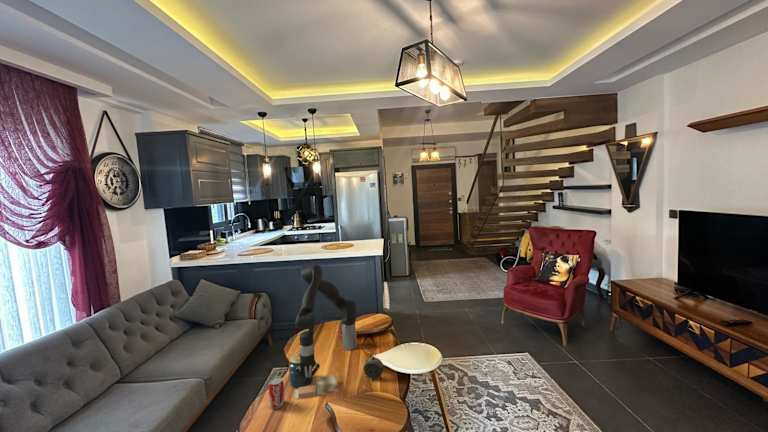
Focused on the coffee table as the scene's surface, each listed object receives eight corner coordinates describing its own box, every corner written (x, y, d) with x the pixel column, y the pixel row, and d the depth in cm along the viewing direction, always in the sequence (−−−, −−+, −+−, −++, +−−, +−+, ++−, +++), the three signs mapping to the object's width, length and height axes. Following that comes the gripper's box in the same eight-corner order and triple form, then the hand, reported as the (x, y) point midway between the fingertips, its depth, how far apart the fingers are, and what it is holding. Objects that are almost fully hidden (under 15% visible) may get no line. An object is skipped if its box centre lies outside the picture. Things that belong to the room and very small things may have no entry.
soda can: (271, 401, 164) (270, 377, 163) (285, 399, 165) (284, 375, 164) (267, 410, 157) (266, 385, 156) (282, 409, 158) (281, 384, 157)
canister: (292, 391, 172) (290, 360, 171) (287, 379, 183) (286, 349, 182) (315, 384, 178) (314, 353, 177) (309, 372, 189) (308, 344, 188)
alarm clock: (384, 377, 182) (383, 350, 181) (382, 383, 177) (381, 355, 176) (365, 375, 185) (364, 348, 183) (363, 381, 179) (362, 353, 178)
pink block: (315, 387, 174) (315, 384, 174) (316, 394, 168) (316, 391, 168) (298, 390, 172) (298, 387, 172) (298, 397, 166) (298, 394, 166)
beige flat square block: (335, 381, 180) (335, 374, 180) (338, 391, 170) (337, 384, 170) (315, 385, 177) (315, 378, 177) (317, 396, 167) (316, 388, 167)
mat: (315, 386, 176) (315, 385, 176) (317, 394, 168) (317, 394, 168) (295, 390, 173) (295, 389, 173) (295, 399, 165) (295, 398, 165)
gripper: (319, 346, 175) (320, 376, 176) (294, 350, 171) (295, 381, 172) (320, 353, 168) (321, 384, 169) (294, 357, 164) (296, 389, 165)
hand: (308, 383), depth 171 cm, fingers closed
